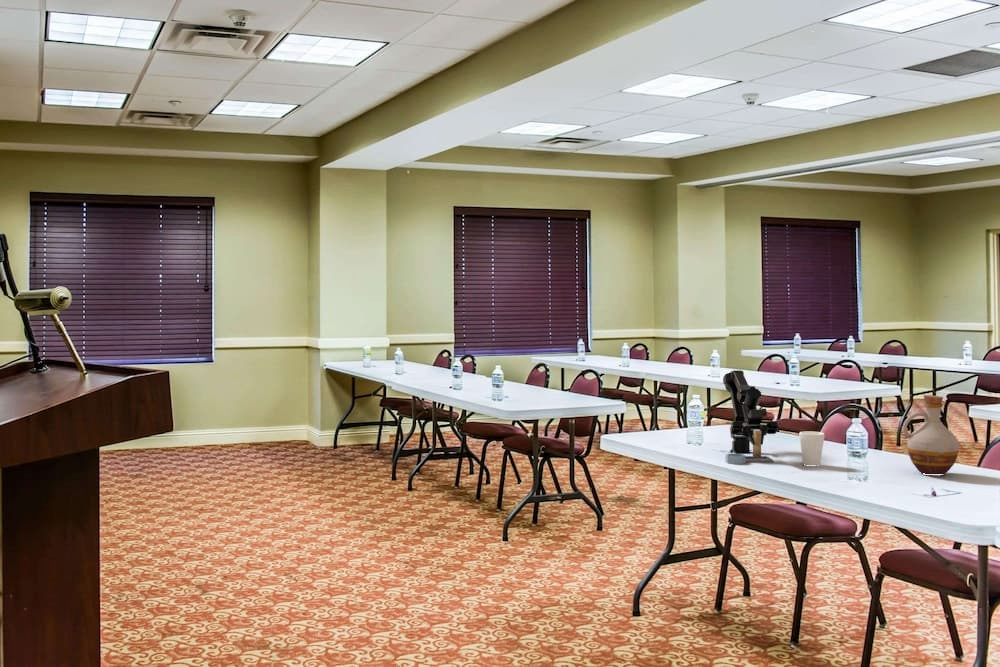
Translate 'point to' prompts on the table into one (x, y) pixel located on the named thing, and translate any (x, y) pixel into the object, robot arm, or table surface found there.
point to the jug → (931, 440)
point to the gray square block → (735, 458)
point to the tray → (758, 459)
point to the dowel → (757, 444)
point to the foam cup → (811, 447)
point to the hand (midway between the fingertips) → (757, 444)
